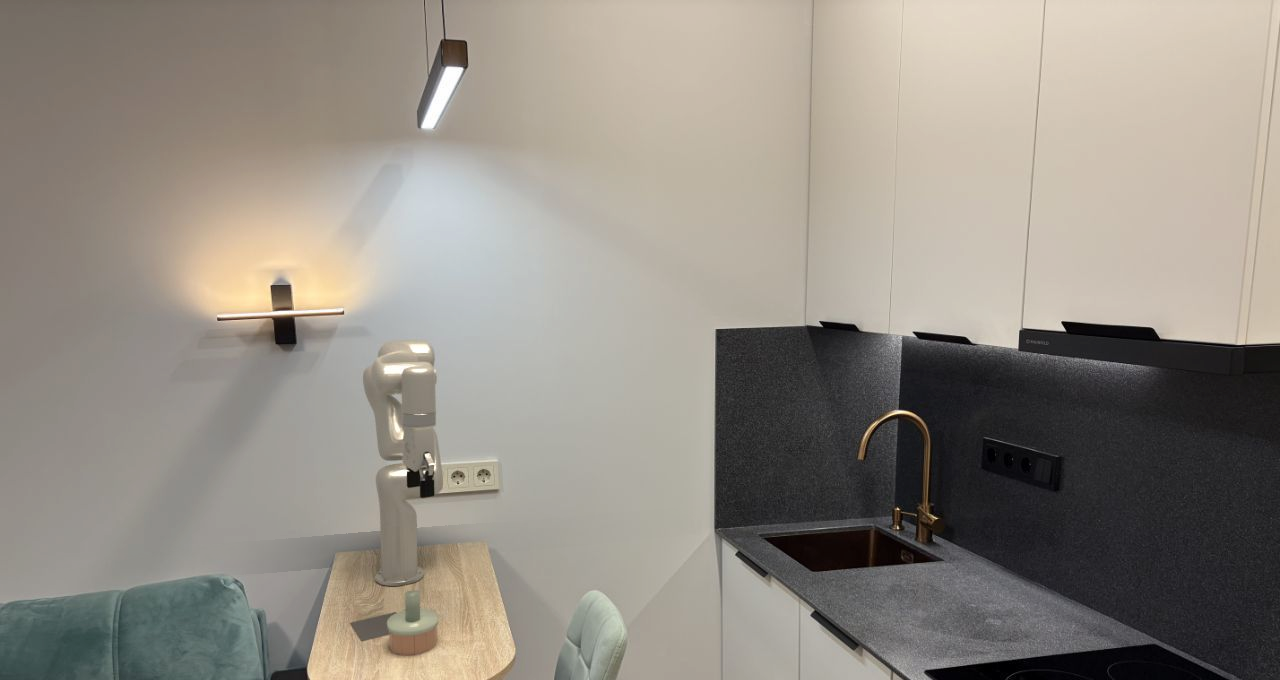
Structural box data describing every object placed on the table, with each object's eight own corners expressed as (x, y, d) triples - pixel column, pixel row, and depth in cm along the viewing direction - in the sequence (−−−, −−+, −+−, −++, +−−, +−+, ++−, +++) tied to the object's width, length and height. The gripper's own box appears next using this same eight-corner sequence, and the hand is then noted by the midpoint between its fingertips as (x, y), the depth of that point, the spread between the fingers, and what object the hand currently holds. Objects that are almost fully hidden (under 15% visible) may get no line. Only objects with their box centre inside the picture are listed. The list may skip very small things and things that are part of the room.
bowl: (384, 642, 174) (384, 621, 174) (428, 631, 180) (428, 610, 179) (397, 661, 166) (397, 639, 166) (443, 649, 172) (442, 627, 171)
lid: (381, 620, 174) (380, 590, 173) (429, 609, 180) (428, 579, 180) (395, 640, 165) (394, 607, 164) (445, 627, 171) (444, 596, 170)
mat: (349, 624, 183) (349, 622, 183) (396, 613, 189) (396, 611, 189) (361, 643, 174) (361, 641, 174) (410, 631, 180) (410, 629, 180)
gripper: (392, 415, 184) (393, 485, 185) (414, 427, 170) (416, 503, 171) (423, 412, 188) (424, 481, 190) (447, 424, 174) (448, 498, 175)
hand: (420, 491), depth 180 cm, fingers open, 9 cm apart
